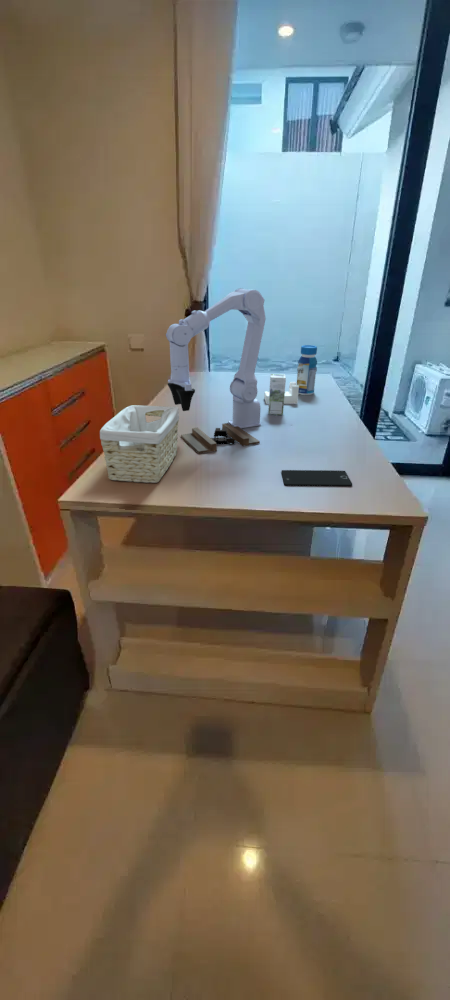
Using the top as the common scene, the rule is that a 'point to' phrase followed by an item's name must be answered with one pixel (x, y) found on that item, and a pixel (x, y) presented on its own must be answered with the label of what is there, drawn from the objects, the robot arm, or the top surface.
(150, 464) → the storage basket
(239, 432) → the wooden stepped rails
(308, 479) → the cell phone
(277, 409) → the syrup box
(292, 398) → the bracket
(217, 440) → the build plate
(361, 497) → the top surface
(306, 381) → the beverage bottle
